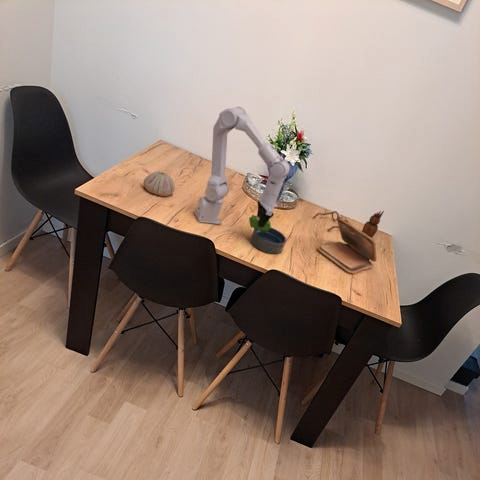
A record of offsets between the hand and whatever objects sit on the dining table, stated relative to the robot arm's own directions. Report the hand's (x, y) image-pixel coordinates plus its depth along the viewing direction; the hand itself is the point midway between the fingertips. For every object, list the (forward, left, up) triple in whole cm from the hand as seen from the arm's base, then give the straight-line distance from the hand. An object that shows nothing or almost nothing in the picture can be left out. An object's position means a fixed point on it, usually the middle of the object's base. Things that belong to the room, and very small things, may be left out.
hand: (259, 223), depth 184 cm
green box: (0, 0, -1) cm, 1 cm away
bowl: (+5, -1, -9) cm, 10 cm away
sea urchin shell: (-32, +36, -9) cm, 48 cm away
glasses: (+53, +25, -9) cm, 60 cm away
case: (+43, -6, -9) cm, 45 cm away
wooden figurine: (+71, +17, -9) cm, 74 cm away
